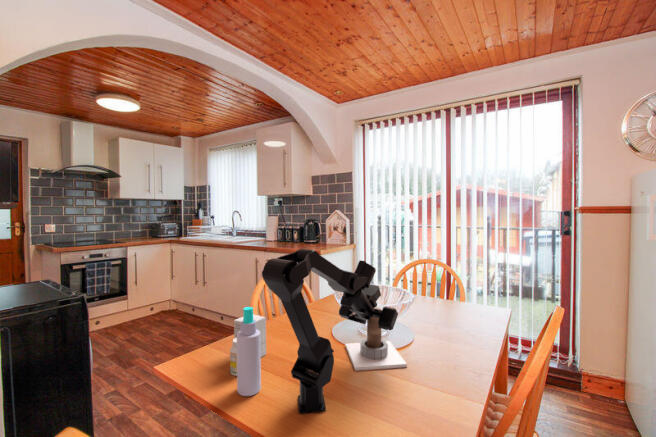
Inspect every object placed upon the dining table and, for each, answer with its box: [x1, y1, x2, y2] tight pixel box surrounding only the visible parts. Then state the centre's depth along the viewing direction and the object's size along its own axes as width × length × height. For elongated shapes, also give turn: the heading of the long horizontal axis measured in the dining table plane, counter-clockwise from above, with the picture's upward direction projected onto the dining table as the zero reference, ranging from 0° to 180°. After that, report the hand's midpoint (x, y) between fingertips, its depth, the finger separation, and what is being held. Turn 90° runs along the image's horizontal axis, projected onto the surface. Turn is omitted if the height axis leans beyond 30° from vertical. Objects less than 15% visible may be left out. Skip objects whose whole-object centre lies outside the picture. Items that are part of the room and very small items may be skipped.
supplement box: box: [233, 313, 267, 358], centre depth 99 cm, size 7×7×13 cm
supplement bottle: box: [229, 338, 237, 377], centre depth 90 cm, size 5×5×10 cm
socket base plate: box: [345, 338, 408, 371], centre depth 100 cm, size 16×16×4 cm
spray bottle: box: [236, 306, 262, 397], centre depth 81 cm, size 6×6×22 cm
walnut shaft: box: [366, 307, 382, 348], centre depth 100 cm, size 5×5×14 cm
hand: (376, 325), depth 100 cm, fingers open, 8 cm apart
